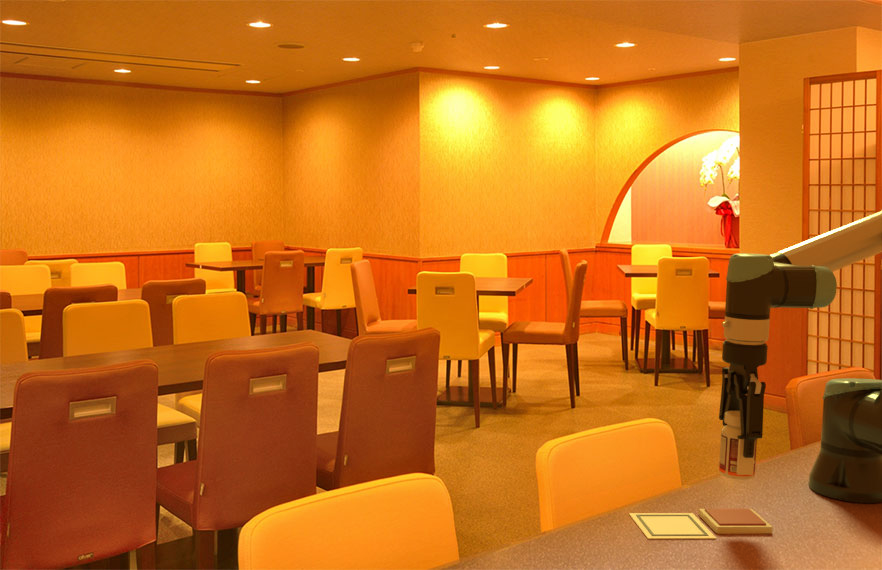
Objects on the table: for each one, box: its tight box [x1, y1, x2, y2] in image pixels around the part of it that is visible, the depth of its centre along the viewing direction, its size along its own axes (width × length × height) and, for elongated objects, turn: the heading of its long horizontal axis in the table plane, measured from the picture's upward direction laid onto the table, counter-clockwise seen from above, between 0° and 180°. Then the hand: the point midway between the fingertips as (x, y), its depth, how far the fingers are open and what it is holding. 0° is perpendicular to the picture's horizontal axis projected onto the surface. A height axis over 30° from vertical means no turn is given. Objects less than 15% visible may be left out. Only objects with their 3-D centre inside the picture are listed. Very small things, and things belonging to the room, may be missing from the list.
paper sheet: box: [628, 512, 717, 540], centre depth 161 cm, size 12×12×1 cm
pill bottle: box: [718, 411, 758, 481], centre depth 161 cm, size 6×6×11 cm
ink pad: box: [698, 508, 773, 535], centre depth 163 cm, size 10×9×2 cm
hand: (737, 467), depth 162 cm, fingers closed on pill bottle, 6 cm apart
